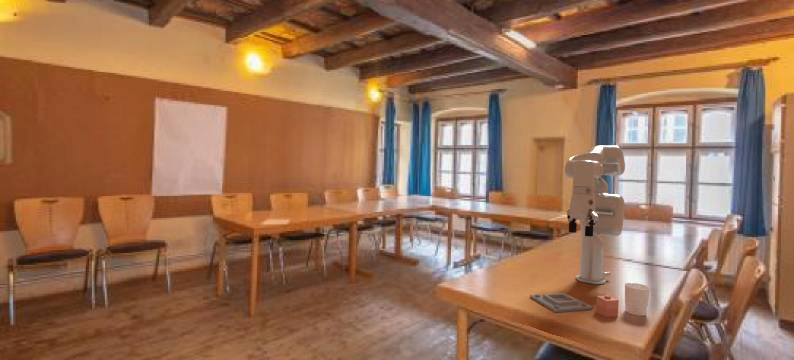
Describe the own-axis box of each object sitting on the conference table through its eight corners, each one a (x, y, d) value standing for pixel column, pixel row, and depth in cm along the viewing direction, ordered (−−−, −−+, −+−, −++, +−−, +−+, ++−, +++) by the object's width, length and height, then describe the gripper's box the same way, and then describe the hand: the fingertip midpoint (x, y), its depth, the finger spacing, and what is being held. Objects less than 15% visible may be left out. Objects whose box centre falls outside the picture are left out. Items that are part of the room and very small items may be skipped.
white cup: (618, 308, 150) (620, 282, 150) (638, 308, 151) (639, 282, 150) (632, 316, 142) (634, 289, 142) (653, 316, 143) (654, 289, 143)
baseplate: (564, 294, 164) (564, 289, 164) (592, 309, 149) (592, 303, 149) (530, 297, 160) (530, 292, 160) (555, 312, 145) (555, 306, 145)
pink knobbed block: (607, 311, 148) (608, 293, 147) (617, 316, 143) (618, 297, 142) (595, 312, 146) (596, 294, 146) (606, 317, 142) (607, 298, 141)
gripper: (606, 193, 149) (604, 238, 150) (576, 190, 166) (574, 230, 166) (589, 192, 148) (587, 237, 148) (560, 189, 164) (558, 230, 165)
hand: (580, 234), depth 157 cm, fingers open, 9 cm apart
